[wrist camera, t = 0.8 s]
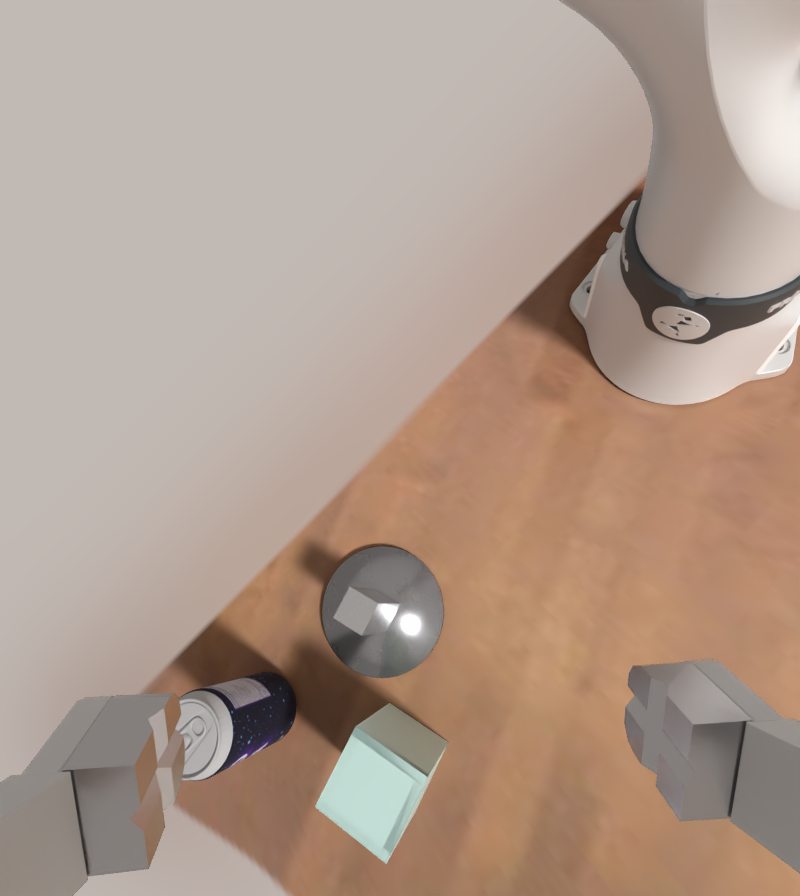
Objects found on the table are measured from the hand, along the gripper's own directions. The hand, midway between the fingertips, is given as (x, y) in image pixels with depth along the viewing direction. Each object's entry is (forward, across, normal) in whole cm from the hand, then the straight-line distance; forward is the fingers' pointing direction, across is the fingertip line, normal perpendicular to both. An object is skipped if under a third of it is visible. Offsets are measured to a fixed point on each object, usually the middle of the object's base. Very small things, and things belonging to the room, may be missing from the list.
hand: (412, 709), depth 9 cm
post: (+33, -1, +17) cm, 38 cm away
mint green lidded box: (+27, -2, +27) cm, 38 cm away
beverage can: (+33, +9, +26) cm, 42 cm away
